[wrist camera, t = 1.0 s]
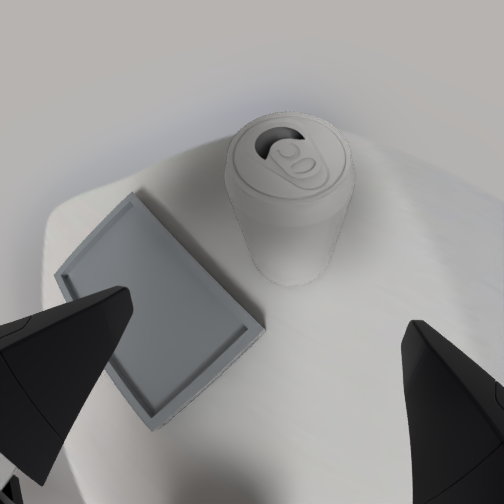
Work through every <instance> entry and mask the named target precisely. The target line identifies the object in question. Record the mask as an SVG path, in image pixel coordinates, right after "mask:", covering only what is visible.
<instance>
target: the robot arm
mask: <svg viewBox="0 0 504 504" xmlns="http://www.w3.org/2000/svg"><path fill="white" fill-rule="evenodd" d="M133 311H134V307H133V303H132V298H131V294H130V290H129V289H128V288H127V287H125V286H119V285H117V286H114V287H111V288H108V289H105V290H102V291H99V292H96V293H93V294H91V295H88V296H85V297H82V298H79V299H76V300H73V301H70V302H68V303H65V304H62V305H59V306H56V307H53V308H50V309H48V310H45V311H42V312H39V313H36V314H34V315H33V316H32V315H31V316H28V317H25V318H22V319H19V320H16V321H13V322H10V323H7V324H4V325H1V326H0V504H23V500H22V495H21V490H20V485H19V478H18V477H16V475H14V472H15V471H16V470H17V468H18V469H20V470H21V471H22V472H23V473H25V474H26V475H27V476H29V477H30V478H31V479H32V480H34V481H35V482H37V483H38V484H39V485H40V486H43V485H44V483H45V481H46V479H47V477H48V475H49V473H50V470H51V468H52V466H53V464H54V462H55V460H56V458H57V456H58V454H59V452H60V450H61V447H62V445H63V443H64V441H65V439H66V437H67V435H68V433H69V431H70V429H71V427H72V426H73V424H74V422H75V420H76V418H77V416H78V414H79V412H80V410H81V409H82V407H83V405H84V403H85V401H86V400H87V398H88V396H89V394H90V392H91V391H92V389H93V387H94V385H95V384H96V382H97V380H98V378H99V377H100V375H101V373H102V371H103V370H104V368H105V366H106V365H107V363H108V361H109V360H110V358H111V356H112V355H113V353H114V351H115V349H116V348H117V346H118V344H119V342H120V339H121V337H122V335H123V333H124V331H125V329H126V327H127V325H128V323H129V321H130V319H131V317H132V315H133ZM401 354H402V367H403V385H404V395H405V402H406V409H407V417H408V425H409V435H410V446H411V459H412V481H413V504H504V387H503V386H502V385H501V384H500V383H499V382H497V381H496V382H495V379H494V378H493V377H492V376H490V375H489V374H488V373H487V372H486V371H485V370H483V369H482V368H481V367H480V366H479V365H478V364H476V363H475V362H474V361H473V360H472V359H470V358H469V357H468V356H467V355H466V354H464V353H463V352H462V351H461V350H460V349H458V348H457V347H456V346H455V345H453V344H452V343H451V342H450V341H448V340H447V339H446V338H445V337H443V336H442V335H441V334H440V333H438V332H437V331H436V330H435V329H433V328H432V327H431V326H430V325H428V324H427V323H426V322H424V321H423V320H411V321H410V322H409V324H408V327H407V329H406V332H405V334H404V337H403V340H402V343H401Z"/></svg>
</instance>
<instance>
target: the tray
mask: <svg viewBox="0 0 504 504" xmlns="http://www.w3.org/2000/svg"><path fill="white" fill-rule="evenodd" d="M54 277H55V279H56V281H57V284H58V286H59V288H60V290H61V292H62V294H63V296H64V298H65V301H66V303H68V302H70V301H73V300H76V299H79V298H82V297H85V296H88V295H91V294H93V293H96V292H99V291H102V290H105V289H108V288H111V287H114V286H117V285H119V286H125V287H127V288H128V289H129V290H130V294H131V298H132V303H133V307H134V311H133V315H132V317H131V319H130V321H129V323H128V325H127V327H126V329H125V331H124V333H123V335H122V337H121V339H120V342H119V344H118V346H117V348H116V349H115V351H114V353H113V355H112V356H111V358H110V360H109V361H108V363H107V365H106V366H105V368H104V369H105V370H106V372H107V373H108V375H109V376H110V378H111V379H112V381H113V382H114V384H115V385H116V387H117V388H118V389H119V391H120V392H121V394H122V395H123V396H124V398H125V399H126V400H127V402H128V403H129V404H130V406H131V407H132V408H133V410H134V411H135V412H136V413H137V415H138V416H139V417H140V418H141V420H142V421H143V422H144V423H145V424H146V426H147V427H148V428H149V429H150V430H151V432H152V431H155V430H157V429H159V428H161V427H162V426H164V425H165V424H166V423H167V422H168V421H170V420H171V419H172V418H173V417H174V416H175V415H177V414H178V413H179V412H180V411H181V410H182V409H184V408H185V407H186V406H187V405H188V404H189V403H190V402H192V401H193V400H194V399H195V398H196V397H197V396H198V395H199V394H201V393H202V392H203V391H204V390H205V389H206V388H207V387H208V386H209V385H211V384H212V383H213V382H214V381H215V380H216V379H217V378H218V377H219V376H220V375H221V374H222V373H224V372H225V371H226V370H227V369H228V368H229V367H230V366H231V365H232V364H233V363H234V362H235V361H236V360H237V359H238V358H239V357H240V356H241V355H243V354H244V353H245V352H246V351H247V350H248V349H249V348H250V347H251V346H252V345H253V344H254V343H255V342H256V341H257V340H258V339H259V338H260V337H261V336H262V335H263V334H264V333H265V332H266V330H265V329H264V328H263V327H262V326H261V325H260V324H259V323H258V322H257V321H256V320H255V319H254V318H253V317H252V316H251V315H250V314H249V313H248V312H247V311H246V310H245V309H244V308H243V307H242V306H240V305H239V304H238V303H237V302H236V301H235V300H234V299H233V298H232V297H231V296H230V295H229V294H228V293H227V292H226V291H225V290H224V289H223V288H222V287H221V286H220V285H219V284H218V283H217V282H216V281H215V279H214V278H213V277H212V276H211V275H210V274H209V273H208V272H207V271H206V270H205V269H204V268H203V267H202V266H201V265H200V264H199V263H198V262H197V261H196V260H195V259H194V258H193V257H192V256H191V255H190V254H189V253H188V252H187V251H186V250H185V248H184V247H183V246H182V245H181V244H180V243H179V242H178V241H177V240H176V239H175V238H174V237H173V236H172V235H171V234H170V233H169V231H168V230H167V229H166V228H165V227H164V226H163V225H162V224H161V223H160V222H159V221H158V220H157V218H156V217H155V216H154V215H153V214H152V213H151V212H150V211H149V210H148V209H147V207H146V206H145V205H144V204H143V203H142V202H141V201H140V200H139V199H138V197H137V196H136V195H135V194H134V193H133V192H131V193H130V194H129V195H128V196H127V197H126V198H125V199H124V200H123V201H122V202H121V203H120V204H119V205H118V206H117V207H116V208H115V209H114V210H113V211H112V212H111V213H110V214H109V215H108V216H107V217H106V218H105V219H104V220H103V221H102V222H101V223H100V224H99V225H98V226H97V227H96V228H95V229H94V230H93V231H92V232H91V233H90V234H89V235H88V236H87V237H86V239H85V240H84V241H83V242H82V243H81V244H80V245H79V246H78V247H77V248H76V250H75V251H74V252H73V253H72V254H71V255H70V256H69V258H68V259H67V260H66V261H65V262H64V263H63V265H62V266H61V267H60V268H59V269H58V271H57V272H56V273H55V274H54Z"/></svg>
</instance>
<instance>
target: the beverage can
mask: <svg viewBox="0 0 504 504" xmlns="http://www.w3.org/2000/svg"><path fill="white" fill-rule="evenodd" d="M224 180H225V186H226V189H227V192H228V195H229V198H230V200H231V203H232V206H233V208H234V211H235V214H236V216H237V219H238V222H239V224H240V227H241V230H242V232H243V235H244V238H245V240H246V243H247V246H248V249H249V251H250V254H251V257H252V259H253V262H254V264H255V266H256V268H257V269H258V270H259V272H260V273H261V274H262V275H263V276H264V277H265V278H267V279H268V280H270V281H272V282H274V283H276V284H279V285H283V286H300V285H304V284H307V283H310V282H311V281H313V280H315V279H316V278H318V277H319V276H320V275H321V274H322V273H323V272H324V271H325V269H326V268H327V266H328V264H329V262H330V259H331V256H332V253H333V250H334V248H335V245H336V242H337V239H338V236H339V233H340V230H341V227H342V224H343V221H344V218H345V215H346V211H347V208H348V205H349V202H350V199H351V195H352V192H353V189H354V185H355V169H354V165H353V162H352V157H351V151H350V148H349V145H348V143H347V141H346V139H345V138H344V136H343V135H342V134H341V133H340V132H339V131H338V130H337V129H336V128H335V127H334V126H333V125H331V124H330V123H328V122H326V121H325V120H322V119H321V118H318V117H316V116H312V115H309V114H305V113H298V112H281V113H273V114H269V115H265V116H263V117H260V118H258V119H255V120H253V121H252V122H250V123H248V124H247V125H245V126H244V127H243V128H242V129H241V130H240V131H239V132H238V133H237V134H236V135H235V136H234V138H233V139H232V141H231V143H230V145H229V148H228V152H227V163H226V166H225V173H224Z"/></svg>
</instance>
